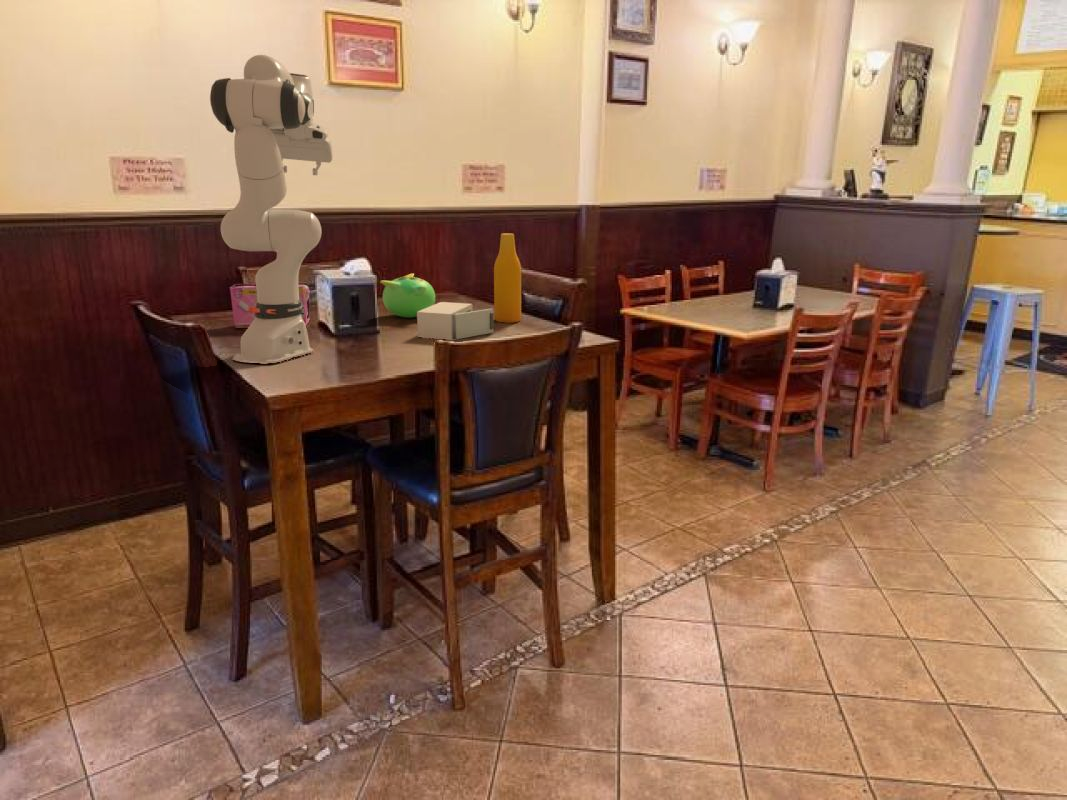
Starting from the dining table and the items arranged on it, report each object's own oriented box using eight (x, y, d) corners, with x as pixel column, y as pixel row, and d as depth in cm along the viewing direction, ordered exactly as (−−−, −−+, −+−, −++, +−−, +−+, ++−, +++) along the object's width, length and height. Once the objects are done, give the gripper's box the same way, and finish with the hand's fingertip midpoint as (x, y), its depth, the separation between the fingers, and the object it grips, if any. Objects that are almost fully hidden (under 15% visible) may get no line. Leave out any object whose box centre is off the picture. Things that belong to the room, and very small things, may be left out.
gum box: (314, 323, 250) (311, 282, 246) (311, 328, 243) (307, 286, 238) (239, 324, 247) (235, 283, 243) (234, 329, 239) (229, 287, 235)
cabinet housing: (451, 340, 227) (450, 314, 225) (417, 337, 230) (416, 311, 228) (475, 327, 246) (474, 302, 243) (444, 324, 249) (443, 300, 246)
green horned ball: (440, 313, 268) (438, 272, 263) (429, 322, 252) (427, 279, 247) (390, 312, 269) (388, 270, 265) (377, 321, 253) (374, 277, 249)
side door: (455, 340, 226) (454, 315, 224) (451, 339, 228) (451, 314, 225) (495, 332, 236) (494, 309, 234) (491, 331, 238) (490, 308, 235)
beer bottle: (517, 323, 251) (518, 235, 243) (491, 322, 253) (490, 234, 244) (523, 318, 260) (524, 233, 251) (497, 317, 262) (497, 232, 253)
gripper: (261, 127, 228) (264, 173, 235) (331, 134, 232) (331, 179, 239) (264, 123, 233) (267, 167, 240) (332, 129, 237) (333, 173, 244)
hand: (299, 173), depth 240 cm, fingers open, 8 cm apart
